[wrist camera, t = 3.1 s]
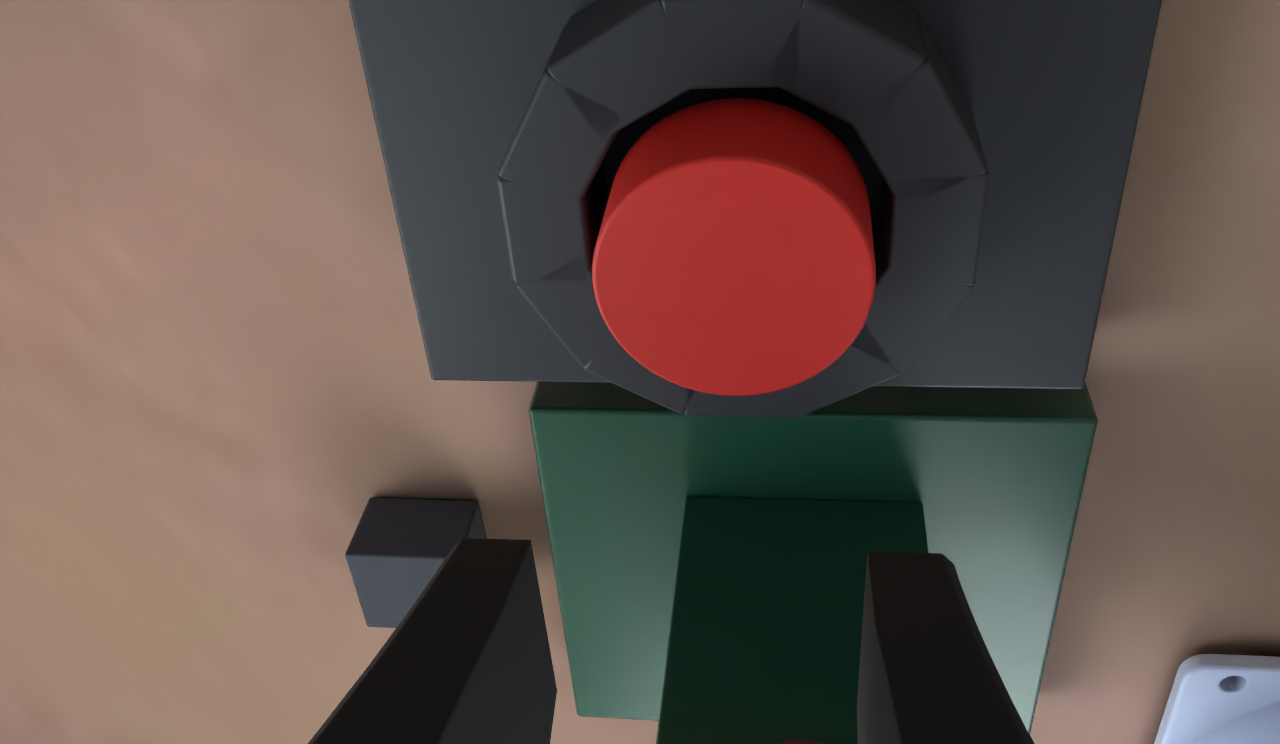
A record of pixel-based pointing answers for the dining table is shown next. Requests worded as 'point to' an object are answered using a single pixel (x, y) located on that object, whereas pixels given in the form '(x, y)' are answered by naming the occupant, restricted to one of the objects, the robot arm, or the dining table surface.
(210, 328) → the dining table surface
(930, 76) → the button box
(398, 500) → the block
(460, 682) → the robot arm
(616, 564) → the rod bracket
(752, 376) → the button
